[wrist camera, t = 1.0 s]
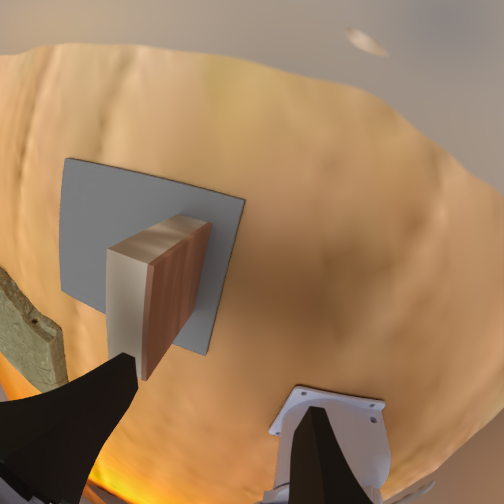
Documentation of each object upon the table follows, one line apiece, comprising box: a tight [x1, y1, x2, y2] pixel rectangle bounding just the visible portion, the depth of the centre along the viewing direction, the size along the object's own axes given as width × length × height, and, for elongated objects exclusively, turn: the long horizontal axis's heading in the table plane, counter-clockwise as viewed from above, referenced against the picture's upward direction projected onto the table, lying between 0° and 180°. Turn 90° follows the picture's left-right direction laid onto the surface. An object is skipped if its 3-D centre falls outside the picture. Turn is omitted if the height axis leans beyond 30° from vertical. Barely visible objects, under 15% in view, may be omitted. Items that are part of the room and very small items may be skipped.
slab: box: [106, 214, 212, 381], centre depth 15 cm, size 2×7×8 cm, turn 165°
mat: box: [59, 158, 245, 356], centre depth 20 cm, size 16×13×1 cm
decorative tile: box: [0, 267, 69, 393], centre depth 27 cm, size 19×20×4 cm
